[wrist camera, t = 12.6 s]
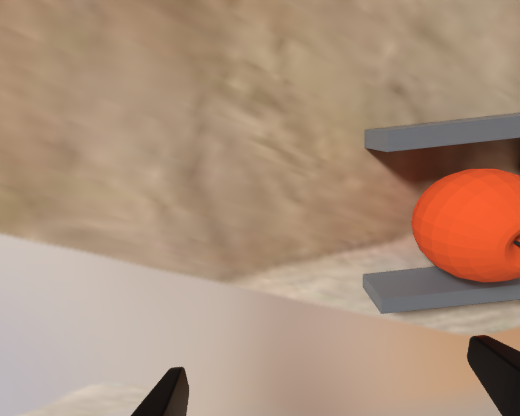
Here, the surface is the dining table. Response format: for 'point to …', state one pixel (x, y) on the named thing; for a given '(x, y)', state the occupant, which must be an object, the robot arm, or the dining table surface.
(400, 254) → the dining table surface
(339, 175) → the dining table surface
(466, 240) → the clementine
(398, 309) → the grey shallow tray
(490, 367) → the robot arm
